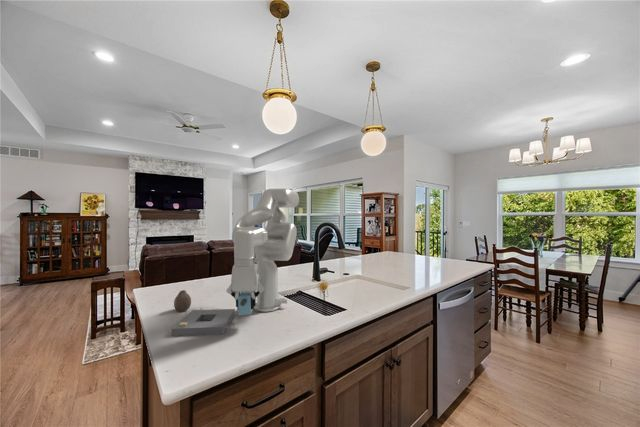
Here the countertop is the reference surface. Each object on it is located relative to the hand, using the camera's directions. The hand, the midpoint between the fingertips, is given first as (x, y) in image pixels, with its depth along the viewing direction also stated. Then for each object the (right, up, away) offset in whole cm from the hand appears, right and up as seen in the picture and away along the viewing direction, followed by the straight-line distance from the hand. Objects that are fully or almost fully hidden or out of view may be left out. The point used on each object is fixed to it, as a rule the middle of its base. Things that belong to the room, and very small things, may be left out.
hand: (245, 307), depth 101 cm
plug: (0, -2, -1) cm, 2 cm away
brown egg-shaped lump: (-34, -8, +17) cm, 39 cm away
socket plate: (-17, -7, +3) cm, 18 cm away
